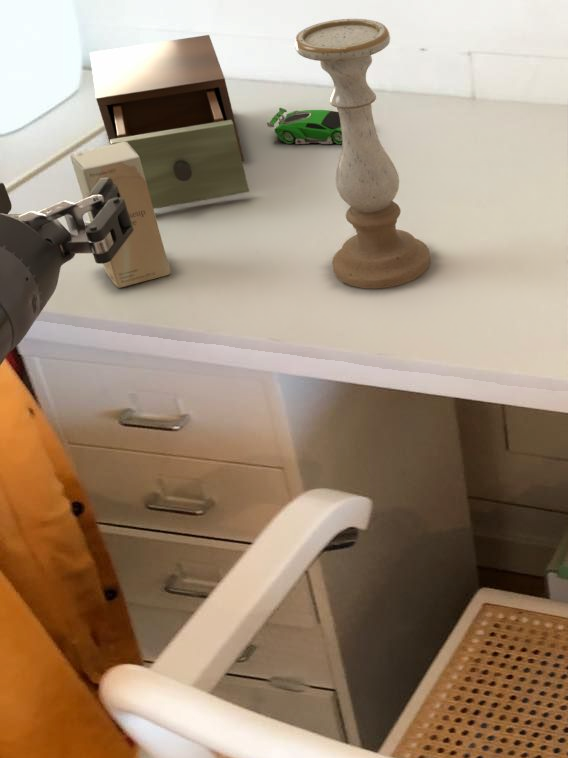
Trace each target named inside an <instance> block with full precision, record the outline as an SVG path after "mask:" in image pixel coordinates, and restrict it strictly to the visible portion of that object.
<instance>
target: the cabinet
mask: <svg viewBox="0 0 568 758" xmlns="http://www.w3.org/2000/svg"><path fill="white" fill-rule="evenodd" d="M89 58H90V64H91V72H92V78H93V85H94V93H95V99H96V100H95V101H96V102H97V106H98V109H99V110H98V111H99V113H100V116H101V119H102V122H103V126H104V129H105V132H106V135H107V138H108V141H109V145H111V142H110V140H111V139H116V138H118V135H117V129H116V123H115V116H114V110H113V104H117V103H123V102H129V101H136V100H142V99H148V98H155V97H161V96H167V95H174V94H180V93H186V92H193V91H199V90H205V89H212V88H213V89H214V92H215V95H216V98H217V101H218V104H219V107H220V110H221V113H222V116H223V119H224V121H226V120H232V122H233V126H234V130H235V134H236V138H237V142H238V146H239V151H240V155H241V159H242V163H243V162H245V157H244V154H243V149H242V146H241V141H240V136H239V133H238V128H237V123H236V120H235V116H234V111H233V107H232V103H231V99H230V95H229V94H230V93H229V90H228V85H227V83H226V77H225V75H224V72H223V70H222V67H221V64H220V62H219V58H218V56H217V53H216V50H215V47H214V45H213V42H212V39H211V36H210V35H209V34H205V35H199V36H192V37H191V36H190V37H185V38H179V39H171V40H165V41H164V40H163V41H158V42H151V43H145V44H138V45H132V46H131V45H129V46H125V47H118V48H111V49H110V48H109V49H104V50H96V51H90V52H89Z"/></svg>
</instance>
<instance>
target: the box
mask: <svg viewBox="0 0 568 758" xmlns="http://www.w3.org/2000/svg"><path fill="white" fill-rule="evenodd" d="M69 158H70V160H71V164H72V167H73V170H74V173H75V176H76V179H77V183H78V186H79V190H80V194H81V196H82V200H83V199H86V198H88V195H89V194H90V192H91V191H92V190H93V188H94V187H95V185H96V184H97V183H98V181H99V180H100V178H111V179H112V182H113V184H117V187H118V190H119V193H120V197H121V198H124V201H125V204H126V207H127V210H128V213H129V216H130V220H131V223H132V226H133V229H134V230H133V232H132V233H131V235H130V236H129V237H128V239H127V240H126V241H125V243H124V244H123V245H122V247H121V248H120V249H119V251H118V252H117V253H116V255H115V256H114V257H113V259H112V260H111V261H109V262H107V263H103V264H102V267H103V268H104V272H105V273H106V275H107V276H108V278H109V280H110V281H111V282H112V284H114V285H115V286H116V288H118V289H119V288H124V287H128V286H132V285H135V284H139V283H144V282H148V281H150V280H154V279H158V278H162V277H166V276H168V275H171V269H170V268H171V267H170V265H169V262H168V258H167V254H166V251H165V247H164V243H163V240H162V236H161V232H160V229H159V225H158V221H157V217H156V213H155V210H154V209H155V208H153V206H152V202H151V198H150V194H149V191H148V187H147V183H146V179H145V176H144V172H143V168H142V165H141V161H140V158H139V156H138V154H137V153H136V152H135V151H134V149H133V148H132V147H131V146H130V145H129V144H128V143H127V142H121V143H116V144H112V145H110V144H107V145H101V146H97V147H94V148H90V149H87V150H83V151H78V152H74V153H70V155H69ZM86 214H87V216H88V219H89V222H92V220H93V217H92V214H91V211H89V212H86Z"/></svg>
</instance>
